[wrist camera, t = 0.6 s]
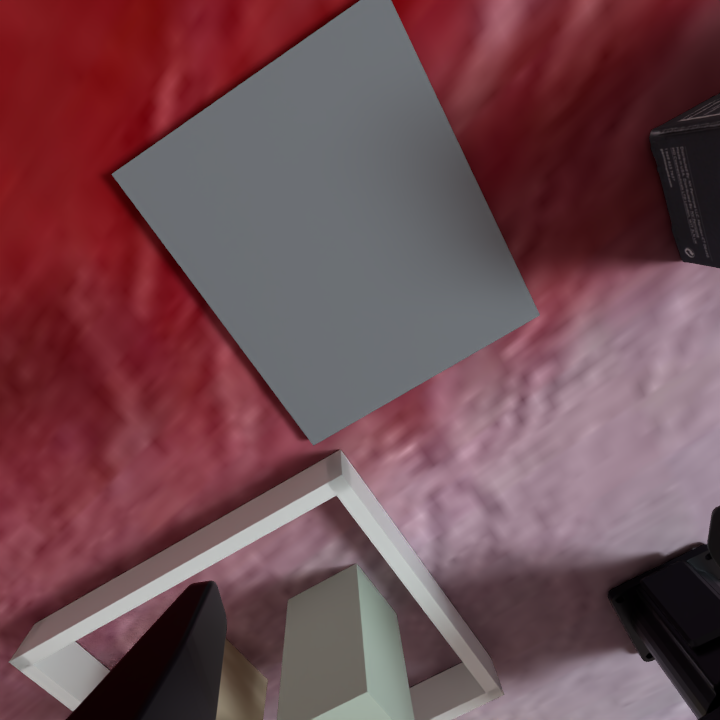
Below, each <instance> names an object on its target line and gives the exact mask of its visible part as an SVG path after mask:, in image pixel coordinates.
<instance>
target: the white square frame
mask: <svg viewBox="0 0 720 720" xmlns="http://www.w3.org/2000/svg"><path fill="white" fill-rule="evenodd" d="M335 496H337V497H338V498H339V500H340V501H341V502H342V503H343V505H344V506H345V507H346V509H347V510H348V511H349V513H350V514H351V515H352V517H353V518H354V519H355V521H356V522H357V523H358V525H359V526H360V527H361V529H362V530H363V531H364V533H365V534H366V535H367V536H368V538H369V539H370V540H371V542H372V543H373V544H374V546H375V547H376V548H377V550H378V551H379V552H380V554H381V555H382V556H383V558H384V559H385V560H386V562H387V563H388V564H389V565H390V567H391V568H392V569H393V571H394V572H395V573H396V575H397V576H398V577H399V579H400V580H401V581H402V583H403V584H404V585H405V587H406V588H407V589H408V591H409V592H410V593H411V595H412V596H413V597H414V598H415V600H416V601H417V602H418V604H419V605H420V606H421V608H422V609H423V610H424V612H425V613H426V614H427V616H428V617H429V618H430V620H431V621H432V622H433V624H434V625H435V626H436V628H437V629H438V630H439V631H440V633H441V634H442V635H443V637H444V638H445V639H446V641H447V642H448V643H449V645H450V646H451V647H452V649H453V650H454V651H455V653H456V654H457V655H458V657H459V658H460V659H461V661H462V663H460V664H458V665H456V666H454V667H452V668H450V669H448V670H446V671H444V672H442V673H440V674H437V675H435V676H433V677H431V678H429V679H427V680H425V681H423V682H421V683H419V684H417V685H415V686H413V687H411V688H409V690H410V696H411V701H412V707H413V713H414V719H415V720H452V719H454V718H456V717H458V716H461V715H463V714H465V713H467V712H469V711H471V710H473V709H475V708H477V707H480V706H482V705H484V704H486V703H488V702H490V701H492V700H494V699H496V698H499V697H501V696H503V695H504V692H503V690H502V687H501V684H500V681H499V679H498V676H497V673H496V670H495V667H494V665H493V662H492V659H491V657H490V656H489V655H488V653H487V652H486V650H485V649H484V648H483V646H482V645H481V644H480V642H479V641H478V639H477V638H476V637H475V635H474V634H473V632H472V631H471V630H470V628H469V627H468V625H467V624H466V623H465V621H464V620H463V619H462V617H461V616H460V614H459V613H458V612H457V610H456V609H455V607H454V606H453V605H452V603H451V602H450V601H449V599H448V598H447V596H446V595H445V594H444V592H443V591H442V589H441V588H440V587H439V585H438V584H437V582H436V581H435V580H434V578H433V577H432V576H431V574H430V573H429V571H428V570H427V569H426V567H425V566H424V564H423V563H422V562H421V560H420V559H419V558H418V556H417V555H416V553H415V552H414V551H413V549H412V548H411V546H410V545H409V544H408V542H407V541H406V539H405V538H404V537H403V535H402V534H401V533H400V531H399V530H398V528H397V527H396V526H395V524H394V523H393V521H392V520H391V519H390V517H389V516H388V515H387V513H386V512H385V510H384V509H383V508H382V506H381V505H380V503H379V502H378V501H377V499H376V498H375V496H374V495H373V494H372V492H371V491H370V490H369V488H368V487H367V485H366V484H365V483H364V481H363V480H362V478H361V477H360V476H359V474H358V473H357V472H356V470H355V469H354V467H353V466H352V465H351V463H350V462H349V460H348V459H347V458H346V456H345V455H344V453H343V452H342V451H341V450H339V451H337V452H335V453H333V454H332V455H330V456H328V457H326V458H325V459H323V460H321V461H319V462H318V463H316V464H314V465H312V466H311V467H309V468H307V469H305V470H304V471H302V472H300V473H298V474H297V475H295V476H293V477H291V478H290V479H288V480H286V481H284V482H283V483H281V484H279V485H277V486H276V487H274V488H272V489H270V490H269V491H267V492H265V493H263V494H262V495H260V496H258V497H256V498H255V499H253V500H251V501H249V502H248V503H246V504H244V505H242V506H241V507H239V508H237V509H235V510H234V511H232V512H230V513H228V514H226V515H225V516H223V517H221V518H219V519H218V520H216V521H214V522H212V523H211V524H209V525H207V526H205V527H204V528H202V529H200V530H198V531H197V532H195V533H193V534H191V535H190V536H188V537H186V538H184V539H183V540H181V541H179V542H177V543H176V544H174V545H172V546H170V547H169V548H167V549H165V550H163V551H162V552H160V553H158V554H156V555H155V556H153V557H151V558H149V559H148V560H146V561H144V562H142V563H141V564H139V565H137V566H135V567H134V568H132V569H130V570H128V571H127V572H125V573H123V574H121V575H119V576H118V577H116V578H114V579H112V580H111V581H109V582H107V583H105V584H104V585H102V586H100V587H98V588H97V589H95V590H93V591H91V592H90V593H88V594H86V595H84V596H83V597H81V598H79V599H77V600H76V601H74V602H72V603H70V604H69V605H67V606H65V607H63V608H62V609H60V610H58V611H56V612H55V613H53V614H51V615H49V616H48V617H46V618H44V619H42V620H41V621H39V622H37V623H35V624H34V626H33V627H32V629H31V630H30V632H29V633H28V635H27V636H26V637H25V639H24V640H23V642H22V643H21V645H20V646H19V648H18V649H17V651H16V652H15V654H14V655H13V657H12V658H11V660H10V661H9V663H11V664H12V665H13V666H15V667H16V668H17V669H18V670H20V671H21V672H22V673H24V674H25V675H26V676H27V677H29V678H30V679H31V680H33V681H34V682H35V683H37V684H38V685H39V686H40V687H42V688H43V689H44V690H46V691H47V692H48V693H49V694H51V695H52V696H53V697H55V698H56V699H57V700H59V701H60V702H61V703H62V704H64V705H65V706H66V707H68V708H69V709H70V710H71V711H74V710H75V709H76V708H77V707H78V706H79V705H80V704H81V702H82V701H83V700H84V699H85V698H86V697H87V696H88V695H89V694H90V693H91V692H92V691H93V689H94V688H95V687H96V686H97V685H98V684H99V683H100V682H101V681H102V680H103V679H104V677H105V676H106V675H107V674H108V673H109V672H110V670H108V669H107V668H106V667H105V666H104V665H102V664H101V663H100V662H99V661H98V660H96V659H95V658H94V657H93V656H92V655H91V654H89V653H88V652H87V651H86V650H85V649H83V648H82V647H81V646H80V645H79V644H77V643H76V642H75V641H76V640H78V639H80V638H82V637H83V636H85V635H87V634H89V633H90V632H92V631H94V630H96V629H98V628H99V627H101V626H103V625H105V624H107V623H108V622H110V621H112V620H114V619H116V618H117V617H119V616H121V615H123V614H125V613H126V612H128V611H130V610H132V609H134V608H135V607H137V606H139V605H141V604H143V603H144V602H146V601H148V600H150V599H152V598H153V597H155V596H157V595H159V594H160V593H162V592H164V591H166V590H168V589H169V588H171V587H173V586H175V585H177V584H178V583H180V582H182V581H184V580H186V579H187V578H189V577H191V576H193V575H195V574H196V573H198V572H200V571H202V570H204V569H205V568H207V567H209V566H211V565H213V564H214V563H216V562H218V561H220V560H222V559H223V558H225V557H227V556H229V555H230V554H232V553H234V552H236V551H238V550H239V549H241V548H243V547H245V546H247V545H248V544H250V543H252V542H254V541H256V540H257V539H259V538H261V537H263V536H265V535H266V534H268V533H270V532H272V531H274V530H275V529H277V528H279V527H281V526H283V525H284V524H286V523H288V522H290V521H292V520H293V519H295V518H297V517H299V516H300V515H302V514H304V513H306V512H308V511H309V510H311V509H313V508H315V507H317V506H318V505H320V504H322V503H324V502H326V501H327V500H329V499H331V498H333V497H335Z"/></svg>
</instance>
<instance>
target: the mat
mask: <svg viewBox="0 0 720 720" xmlns="http://www.w3.org/2000/svg"><path fill="white" fill-rule="evenodd" d="M112 176H113V177H114V178H115V180H116V181H117V182H118V184H119V185H120V186H121V188H122V189H123V190H124V192H125V193H126V194H127V196H128V197H129V198H130V200H131V201H132V202H133V204H134V205H135V206H136V208H137V209H138V211H139V212H140V213H141V215H142V216H143V217H144V219H145V220H146V221H147V223H148V224H149V225H150V227H151V228H152V229H153V231H154V232H155V233H156V235H157V236H158V237H159V239H160V240H161V241H162V243H163V244H164V245H165V247H166V248H167V249H168V251H169V252H170V254H171V255H172V256H173V258H174V259H175V260H176V262H177V263H178V264H179V266H180V267H181V268H182V270H183V271H184V272H185V274H186V275H187V276H188V278H189V279H190V280H191V282H192V283H193V284H194V286H195V287H196V288H197V290H198V291H199V292H200V294H201V295H202V297H203V298H204V299H205V301H206V302H207V303H208V305H209V306H210V307H211V309H212V310H213V311H214V313H215V314H216V315H217V317H218V318H219V319H220V321H221V322H222V323H223V325H224V326H225V327H226V329H227V330H228V331H229V333H230V334H231V336H232V337H233V338H234V340H235V341H236V342H237V344H238V345H239V346H240V348H241V349H242V350H243V352H244V353H245V354H246V356H247V357H248V358H249V360H250V361H251V362H252V364H253V365H254V366H255V368H256V369H257V370H258V372H259V373H260V374H261V376H262V377H263V379H264V380H265V381H266V383H267V384H268V385H269V387H270V388H271V389H272V391H273V392H274V393H275V395H276V396H277V397H278V399H279V400H280V401H281V403H282V404H283V405H284V407H285V408H286V409H287V411H288V412H289V413H290V415H291V416H292V418H293V419H294V420H295V422H296V423H297V424H298V426H299V427H300V428H301V430H302V431H303V432H304V434H305V435H306V436H307V438H308V439H309V440H310V442H311V443H312V444H313V446H314V445H315V444H317V443H319V442H321V441H322V440H324V439H326V438H327V437H329V436H331V435H333V434H334V433H336V432H338V431H340V430H341V429H343V428H345V427H347V426H348V425H350V424H352V423H354V422H355V421H357V420H359V419H360V418H362V417H364V416H366V415H367V414H369V413H371V412H373V411H374V410H376V409H378V408H380V407H381V406H383V405H385V404H387V403H388V402H390V401H392V400H393V399H395V398H397V397H399V396H400V395H402V394H404V393H406V392H407V391H409V390H411V389H413V388H414V387H416V386H418V385H420V384H421V383H423V382H425V381H426V380H428V379H430V378H432V377H433V376H435V375H437V374H439V373H440V372H442V371H444V370H446V369H447V368H449V367H451V366H453V365H454V364H456V363H458V362H459V361H461V360H463V359H465V358H466V357H468V356H470V355H472V354H473V353H475V352H477V351H479V350H480V349H482V348H484V347H485V346H487V345H489V344H491V343H492V342H494V341H496V340H498V339H499V338H501V337H503V336H505V335H506V334H508V333H510V332H512V331H513V330H515V329H517V328H518V327H520V326H522V325H524V324H525V323H527V322H529V321H531V320H532V319H534V318H536V317H538V316H539V315H540V314H539V312H538V310H537V308H536V306H535V304H534V302H533V300H532V297H531V295H530V293H529V291H528V289H527V287H526V285H525V283H524V281H523V278H522V276H521V274H520V272H519V270H518V268H517V266H516V264H515V262H514V259H513V257H512V255H511V253H510V251H509V249H508V247H507V245H506V242H505V240H504V238H503V236H502V234H501V232H500V230H499V228H498V226H497V223H496V221H495V219H494V217H493V215H492V213H491V211H490V209H489V207H488V204H487V202H486V200H485V198H484V196H483V194H482V192H481V190H480V187H479V185H478V183H477V181H476V179H475V177H474V175H473V173H472V171H471V168H470V166H469V164H468V162H467V160H466V158H465V156H464V154H463V152H462V149H461V147H460V145H459V143H458V141H457V139H456V137H455V135H454V132H453V130H452V128H451V126H450V124H449V122H448V120H447V118H446V116H445V113H444V111H443V109H442V107H441V105H440V103H439V101H438V99H437V96H436V94H435V92H434V90H433V88H432V86H431V84H430V82H429V80H428V77H427V75H426V73H425V71H424V69H423V67H422V65H421V63H420V61H419V58H418V56H417V54H416V52H415V50H414V48H413V46H412V44H411V41H410V39H409V37H408V35H407V33H406V31H405V29H404V27H403V25H402V22H401V20H400V18H399V16H398V14H397V12H396V10H395V8H394V6H393V3H392V1H391V0H360V1H359V2H357V3H356V4H354V5H353V6H351V7H350V8H349V9H347V10H346V11H344V12H343V13H341V14H340V15H339V16H337V17H336V18H334V19H333V20H331V21H330V22H329V23H327V24H326V25H324V26H323V27H321V28H320V29H318V30H317V31H316V32H314V33H313V34H311V35H310V36H308V37H307V38H306V39H304V40H303V41H301V42H300V43H298V44H297V45H296V46H294V47H293V48H291V49H290V50H288V51H287V52H286V53H284V54H283V55H281V56H280V57H278V58H277V59H276V60H274V61H273V62H271V63H270V64H268V65H267V66H266V67H264V68H263V69H261V70H260V71H258V72H257V73H256V74H254V75H253V76H251V77H250V78H248V79H247V80H246V81H244V82H243V83H241V84H240V85H238V86H237V87H236V88H234V89H233V90H231V91H230V92H228V93H227V94H226V95H224V96H223V97H221V98H220V99H218V100H217V101H216V102H214V103H213V104H211V105H210V106H208V107H207V108H205V109H204V110H203V111H201V112H200V113H198V114H197V115H195V116H194V117H193V118H191V119H190V120H188V121H187V122H185V123H184V124H183V125H181V126H180V127H178V128H177V129H175V130H174V131H173V132H171V133H170V134H168V135H167V136H165V137H164V138H163V139H161V140H160V141H158V142H157V143H155V144H154V145H153V146H151V147H150V148H148V149H147V150H145V151H144V152H143V153H141V154H140V155H138V156H137V157H135V158H134V159H133V160H131V161H130V162H128V163H127V164H125V165H124V166H123V167H121V168H120V169H118V170H117V171H115V172H114V173H113V174H112Z"/></svg>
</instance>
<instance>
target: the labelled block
mask: <svg viewBox="0 0 720 720" xmlns="http://www.w3.org/2000/svg"><path fill="white" fill-rule="evenodd" d="M267 682H268V680H267V679H266V678H265V677H264V676H263V675H262V674H261V673H260V672H259V671H258V670H257V669H256V668H255V667H254V666H253V665H252V664H251V663H250V662H249V661H248V660H247V659H246V658H245V657H244V656H243V655H242V654H241V653H240V652H239V651H238V650H237V649H236V648H235V647H234V646H233V645H232V644H231V643H230V642H229V641H228V640H227V639H225V647H224V656H223V664H222V673H221V681H220V690H219V698H218V707H217V715H216V720H263V715H264V707H265V699H266V690H267Z"/></svg>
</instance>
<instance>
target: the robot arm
mask: <svg viewBox="0 0 720 720" xmlns="http://www.w3.org/2000/svg"><path fill="white" fill-rule="evenodd" d="M608 598H609V600H610V602H611V604H612V606H613V608H614V610H615V611H616V613H617V615H618V617H619V619H620V621H621V622H622V624H623V626H624V628H625V630H626V632H627V633H628V635H629V637H630V639H631V641H632V643H633V644H634V646H635V648H636V650H637V652H638V654H639V655H640V656H641V658H642V659H643V660H644V661H646V662H649V661H653V660H656V661H657V662H658V664H659V665H660V667H661V668H662V670H663V671H664V672H665V674H666V675H667V677H668V678H669V679H670V681H671V682H672V684H673V685H674V686H675V688H676V689H677V691H678V692H679V693H680V695H681V696H682V698H683V699H684V700H685V702H686V703H687V705H688V706H689V707H690V709H691V710H692V712H693V713H694V714H695V716H696V717H697V719H698V720H720V506H718V507H716V508H715V509H714V510H713V511H712V515H711V521H710V528H709V535H708V542H707V544H705V545H702V546H700V547H698V548H696V549H694V550H691V551H689V552H687V553H685V554H683V555H681V556H679V557H677V558H675V559H673V560H671V561H669V562H667V563H665V564H663V565H661V566H659V567H657V568H655V569H653V570H651V571H649V572H647V573H644V574H642V575H640V576H638V577H636V578H634V579H632V580H630V581H628V582H626V583H624V584H622V585H620V586H618V587H616V588H614V589H612V590H611V591H610V592H609V593H608ZM226 630H227V619H226V614H225V610H224V607H223V603H222V600H221V597H220V593H219V590H218V587H217V584H216V583H215V582H214V581H205V582H198V583H193V584H191V585H189V586H188V587H187V588H186V589H185V590H184V591H183V593H182V594H181V595H180V596H179V597H178V598H177V599H176V600H175V601H174V602H173V603H172V605H171V606H170V607H169V608H168V609H167V610H166V611H165V612H164V613H163V614H162V615H161V617H160V618H159V619H158V620H157V621H156V622H155V623H154V624H153V625H152V626H151V627H150V628H149V630H148V631H147V632H146V633H145V634H144V635H143V636H142V637H141V638H140V639H139V640H138V642H137V643H136V644H135V645H134V646H133V647H132V648H131V649H130V650H129V651H128V652H127V654H126V655H125V656H124V657H123V658H122V659H121V660H120V661H119V662H118V663H117V664H116V665H115V667H114V668H113V669H112V670H111V671H110V672H109V673H108V674H107V675H106V676H105V677H104V679H103V680H102V681H101V682H100V683H99V684H98V685H97V686H96V687H95V688H94V689H93V691H92V692H91V693H90V694H89V695H88V696H87V697H86V698H85V699H84V700H83V701H82V702H81V704H80V705H79V706H78V707H77V708H76V709H75V710H74V711H73V712H72V713H71V714H70V716H69V717H68V718H67V719H66V720H216V715H217V707H218V698H219V690H220V681H221V673H222V664H223V656H224V647H225V639H226Z"/></svg>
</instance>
